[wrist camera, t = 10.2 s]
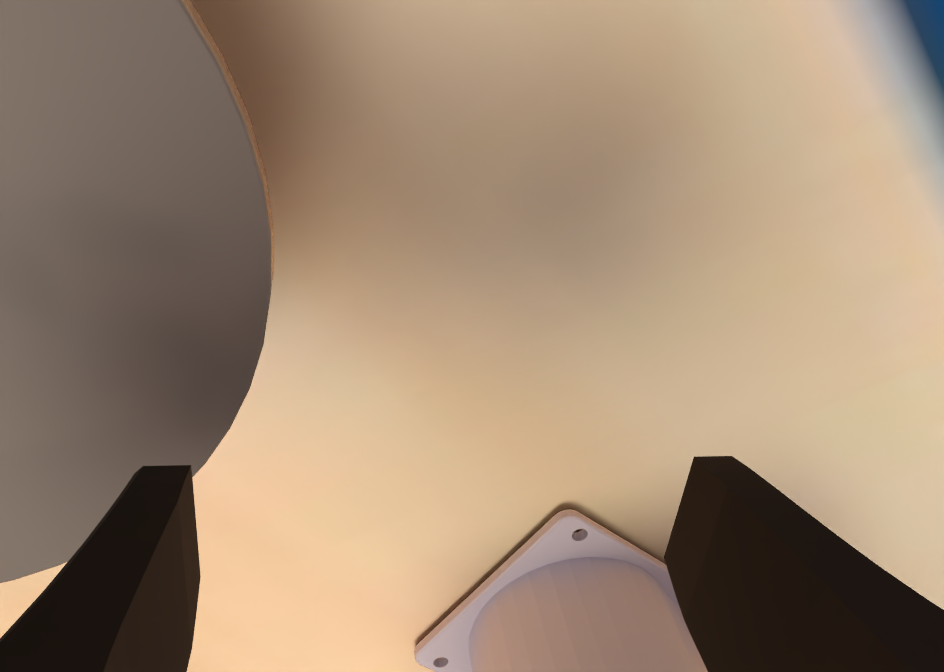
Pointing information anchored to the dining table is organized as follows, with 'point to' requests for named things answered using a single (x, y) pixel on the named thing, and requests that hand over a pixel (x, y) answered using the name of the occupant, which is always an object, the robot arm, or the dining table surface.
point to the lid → (119, 259)
